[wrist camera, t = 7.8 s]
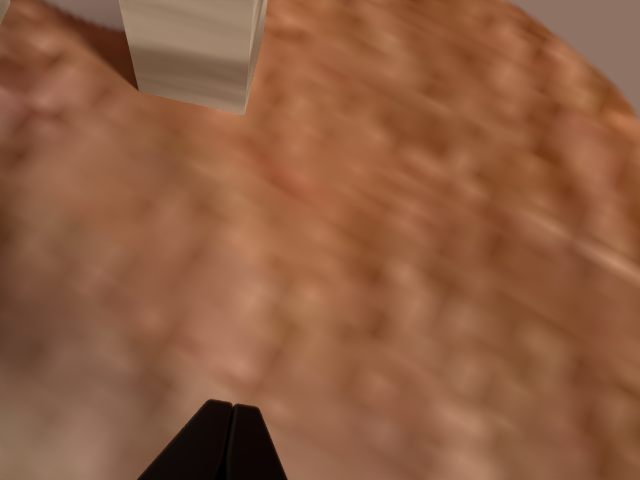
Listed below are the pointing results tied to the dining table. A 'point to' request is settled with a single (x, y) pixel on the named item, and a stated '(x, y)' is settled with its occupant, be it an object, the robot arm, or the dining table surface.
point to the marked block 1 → (3, 8)
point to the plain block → (195, 49)
